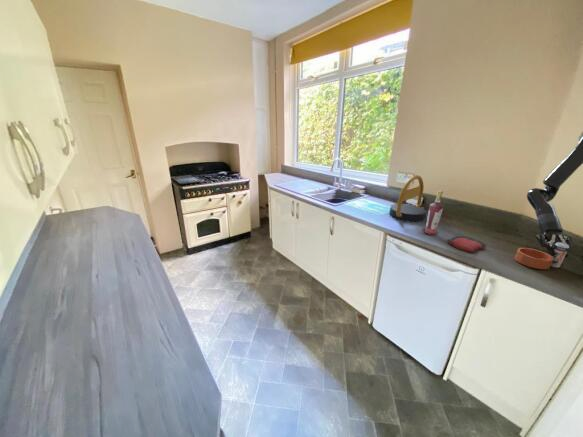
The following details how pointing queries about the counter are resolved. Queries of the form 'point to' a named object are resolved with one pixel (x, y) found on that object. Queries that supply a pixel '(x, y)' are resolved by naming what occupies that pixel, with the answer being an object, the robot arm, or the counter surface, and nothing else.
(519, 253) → the bowl
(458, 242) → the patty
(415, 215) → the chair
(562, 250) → the beer can
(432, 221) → the liquor
